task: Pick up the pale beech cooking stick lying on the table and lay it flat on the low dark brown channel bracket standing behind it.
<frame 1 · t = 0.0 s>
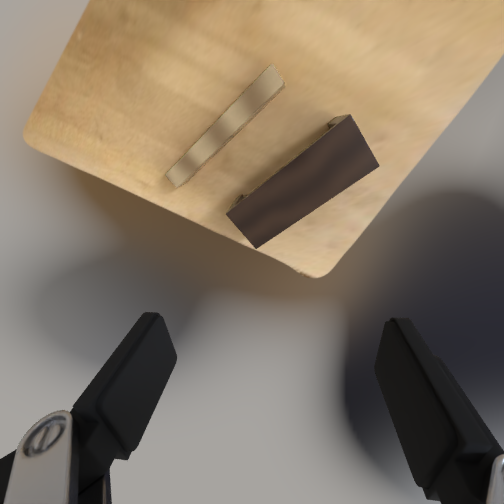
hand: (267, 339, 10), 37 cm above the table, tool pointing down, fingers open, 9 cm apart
stick: (223, 133, 40), on the table
dark brown channel bracket: (293, 180, 42), on the table
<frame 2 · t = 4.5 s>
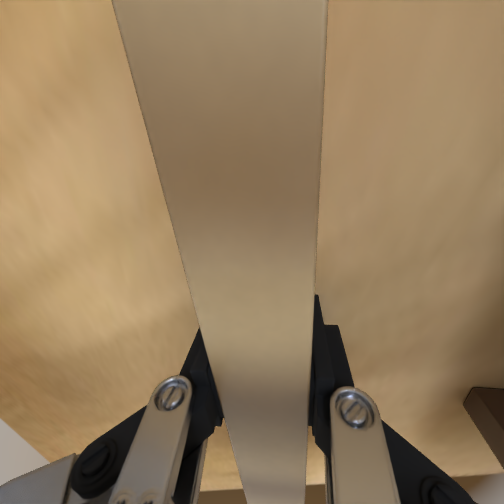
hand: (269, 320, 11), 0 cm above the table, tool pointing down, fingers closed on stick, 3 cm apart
stick: (269, 317, 11), on the table, touching gripper
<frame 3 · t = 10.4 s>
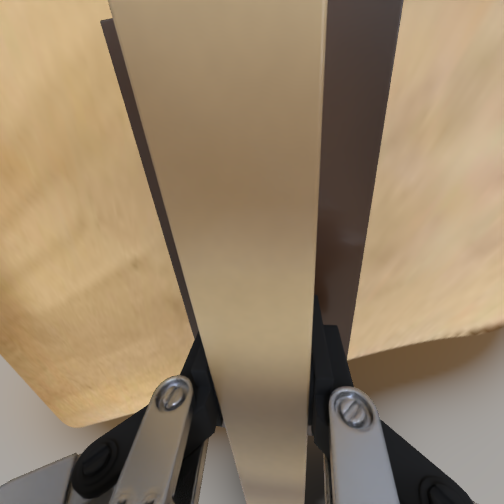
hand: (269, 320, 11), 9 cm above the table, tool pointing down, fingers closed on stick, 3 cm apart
stick: (269, 318, 11), point 9 cm above the table, touching gripper
dark brown channel bracket: (273, 236, 19), on the table
when the fingers open (9 cm above the table, at t = 10.5 s): stick stays where it is, resting on dark brown channel bracket.
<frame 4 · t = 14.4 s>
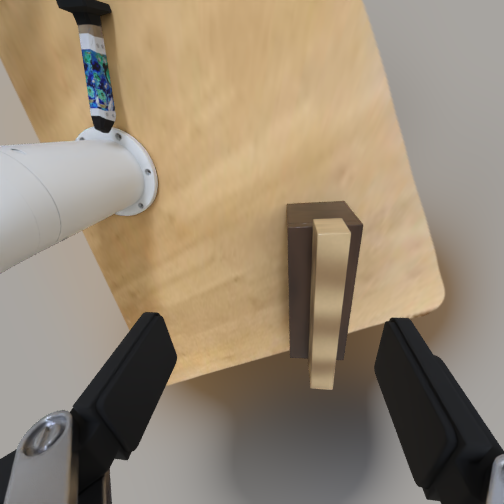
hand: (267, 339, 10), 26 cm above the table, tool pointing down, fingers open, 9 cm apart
stick: (321, 304, 30), point 9 cm above the table, touching dark brown channel bracket
dark brown channel bracket: (312, 267, 38), on the table
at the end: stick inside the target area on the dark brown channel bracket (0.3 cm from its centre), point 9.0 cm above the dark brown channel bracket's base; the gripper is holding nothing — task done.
